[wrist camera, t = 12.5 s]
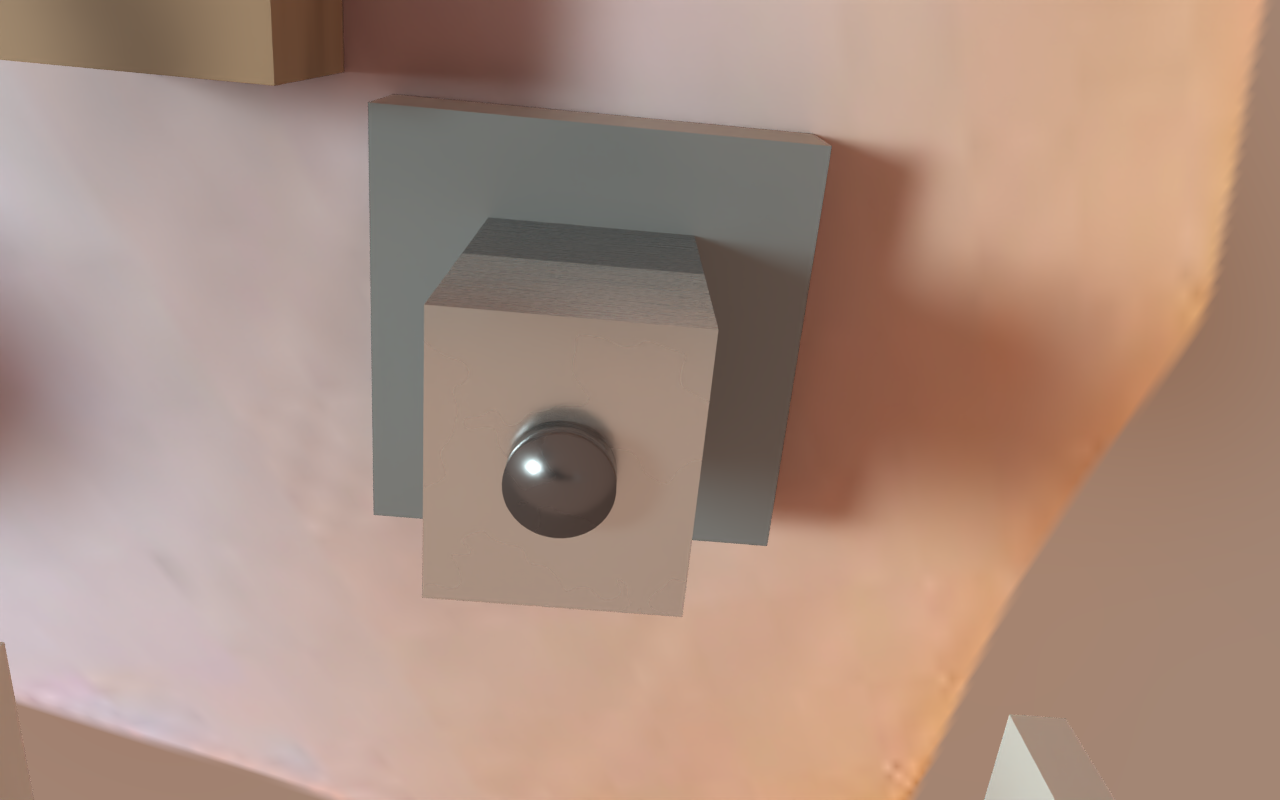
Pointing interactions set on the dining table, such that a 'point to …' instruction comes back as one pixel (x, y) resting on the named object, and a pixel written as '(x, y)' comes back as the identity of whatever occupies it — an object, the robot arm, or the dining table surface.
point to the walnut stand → (180, 37)
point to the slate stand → (610, 198)
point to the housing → (565, 418)
